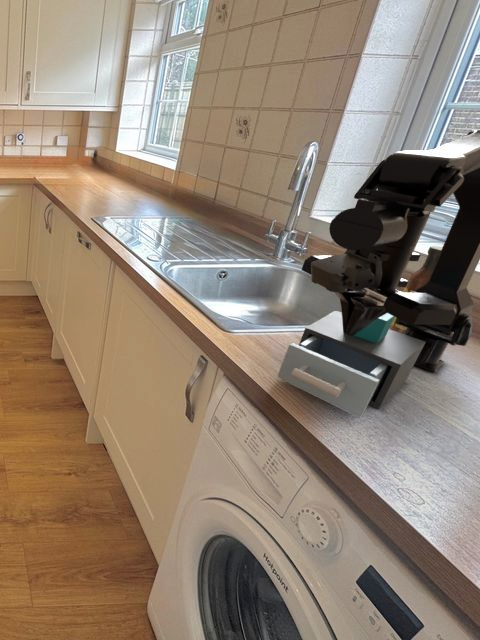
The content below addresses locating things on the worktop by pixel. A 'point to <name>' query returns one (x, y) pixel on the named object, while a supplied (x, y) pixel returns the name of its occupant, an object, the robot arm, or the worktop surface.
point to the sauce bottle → (419, 280)
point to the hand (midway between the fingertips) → (348, 334)
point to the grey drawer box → (372, 351)
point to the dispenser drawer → (334, 373)
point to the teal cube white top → (376, 329)
